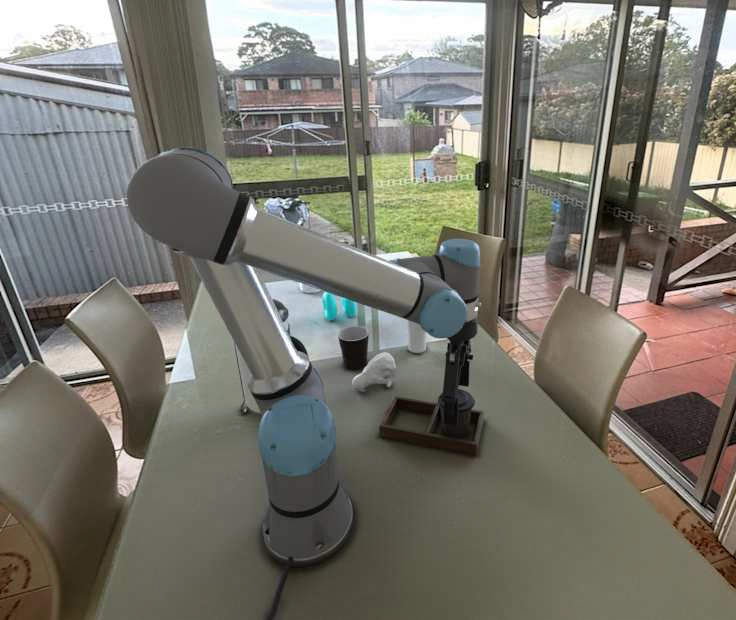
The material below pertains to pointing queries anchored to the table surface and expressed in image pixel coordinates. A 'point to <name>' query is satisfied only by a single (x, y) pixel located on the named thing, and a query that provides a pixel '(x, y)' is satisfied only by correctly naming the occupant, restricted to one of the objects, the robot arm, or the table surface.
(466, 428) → the coffee cup
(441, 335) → the robot arm
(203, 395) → the table surface
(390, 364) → the white lumpy figurine
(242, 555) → the table surface
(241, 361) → the coffee press
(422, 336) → the drinking glass
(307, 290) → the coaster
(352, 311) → the cyan wheel pair
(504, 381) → the table surface
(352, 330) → the coffee mug
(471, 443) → the frame
